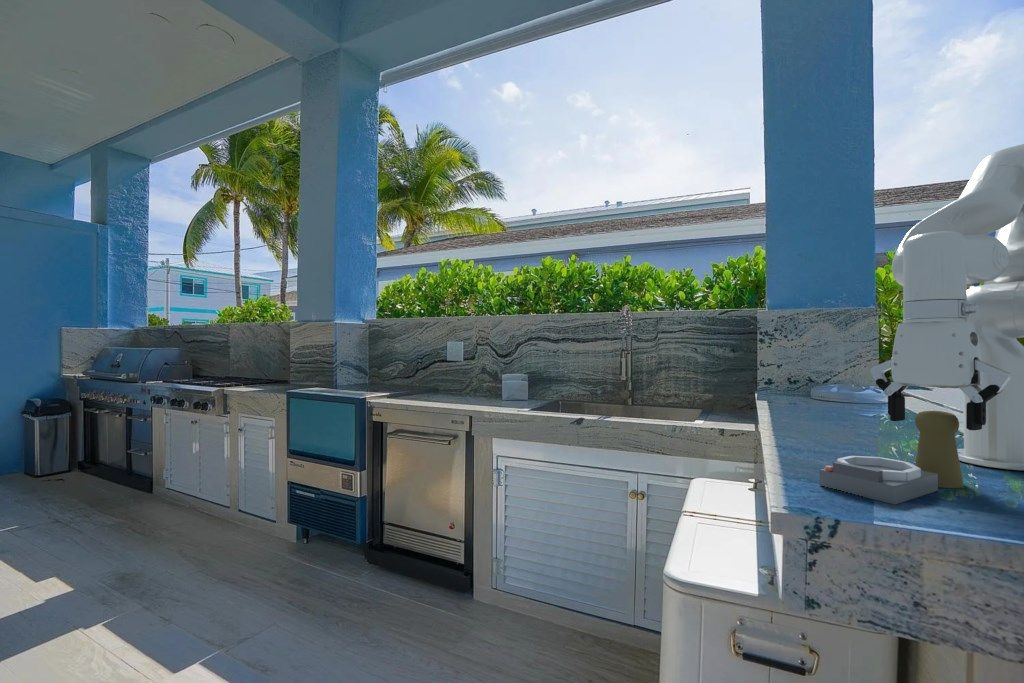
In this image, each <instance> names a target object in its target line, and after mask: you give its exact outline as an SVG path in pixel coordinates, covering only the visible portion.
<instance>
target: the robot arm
mask: <svg viewBox="0 0 1024 683" xmlns="http://www.w3.org/2000/svg"><path fill="white" fill-rule="evenodd" d="M994 232H995V235H994V236H991V235H989V234H991V233H994ZM891 273H892V277H893V279H894V281H895V282H897V284H898V285H900V286H902V296H903V297H902V322H900V323H898V324H897V328H896V332H895V335H894V341H893V347H892V353H891V354H892V357H891V359H889V360H886V361H885V362H882V363H880V364H878V365H874V366H872V367H870V369H869V372H870V374H871V376H872V377H873V379H874V380H875V385H877V387H879V388H880V390H881V391H883V394H884V395H885V396H887V414H888V415H889V420H890V421H891V422H900V421H905V419H906V397H905V396H904V395H902V394H903V392H905V390H906V389H907V388H909V386H912V387H924V388H925V387H927V388H940V389H941V388H943V389H960V390H961V392H962V404H963V408H962V410H963V411H962V413H963V414H962V415H963V448H957V452H958V457H959V462H960V461H961V462H963V463H967V464H971V465H977V466H981V467H988V468H995V469H1002V470H1009V471H1011V470H1013V471H1022V472H1023V471H1024V345H1023V344H1022V343H1021V342H1019V340H1018V339H1020V338H1024V143H1021V144H1018V145H1014V146H1011V147H1007V148H1003V149H1001V150H997V151H996V152H993V153H991V154H989V155H987V156H986V157H984V158H983V159H982V160H981V161H980V162H979V164H978V165H977V167H976V168H975V169H974V172H973V173H972V174H971V176H970V178H969V180H968V182H967V183H966V185H965V187H964V189H963V191H962V192H961V193H960V195H959V197H958V199H956V200H954V201H952V202H951V203H949V204H947V205H945V206H943V207H942V208H939V209H938V210H937V211H935V212H933V213H932V214H930V215H929V216H927V217H926V218H924V219H922V220H920V221H919V222H917V223H916V224H915V225H913V227H911V229H910V230H908V232H907V233H906V234H905V235H904V237H903V239H902V241H901V242H900V244H899V245H898V247H897V249H896V251H895V254H894V255H893V259H892V262H891ZM981 283H983V284H981ZM973 284H980V285H976V286H972V287H970V288H968V287H967V286H968V285H973ZM890 370H891V378H892V381H893V382H891V381H889V379H887V378H886V375H885V373H886V372H887V371H890Z"/></svg>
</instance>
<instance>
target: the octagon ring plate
mask: <svg viewBox="0 0 1024 683" xmlns="http://www.w3.org/2000/svg"><path fill="white" fill-rule="evenodd" d="M824 466H825V467H823V468H822V469H819V486H820V485H822V486H826V487H829V488H828V489H830V488H833V489H832V490H834V489H837V490H836V491H838V490H841V491H840V492H842V491H844V492H843V493H846V492H848V493H847V494H850V493H852V494H851V495H854V494H855V496H858V495H859V496H860V497H862V496H863V498H867V499H871V500H875V501H880V502H884V503H888V504H891V505H897V504H902V503H904V502H907V501H911V500H914V499H917V498H920V497H923V496H925V495H929V494H932V493H934V492H935V493H936V492H938V491H939V487H938V474H937V473H932V472H926V471H921V468H919V467H917V466H915V464H913V463H911V462H908V461H903V460H899V459H893V458H887V457H882V456H880V457H879V456H863V455H862V456H861V455H849V456H844V457H839V458H837V459H836V461H834V462H832V465H824ZM822 486H821V487H822ZM826 487H825V488H826Z"/></svg>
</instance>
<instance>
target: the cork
mask: <svg viewBox="0 0 1024 683" xmlns="http://www.w3.org/2000/svg"><path fill="white" fill-rule="evenodd" d="M914 423H915V426H916V429H917V430H918V431H919V435H918V441H917V442H918V443H917V448H916V455H915V461H914V465H915V466H917V467H919V468H921V471H926V472H932V473H937V474H938V488H943V489H944V488H945V489H961V488H964V487H965V484H964V480H963V474H962V469H961V464H960V460H959V457H958V452H957V449H958V447H957V442H956V437H955V436H956V433H957V432H958V431H959V428H960V421H959V419H958V417H957V415H955V414H953V413H951V412H948V411H944V410H943V411H941V410H924V411H920V412H917V414H916V416H915V418H914Z"/></svg>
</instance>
